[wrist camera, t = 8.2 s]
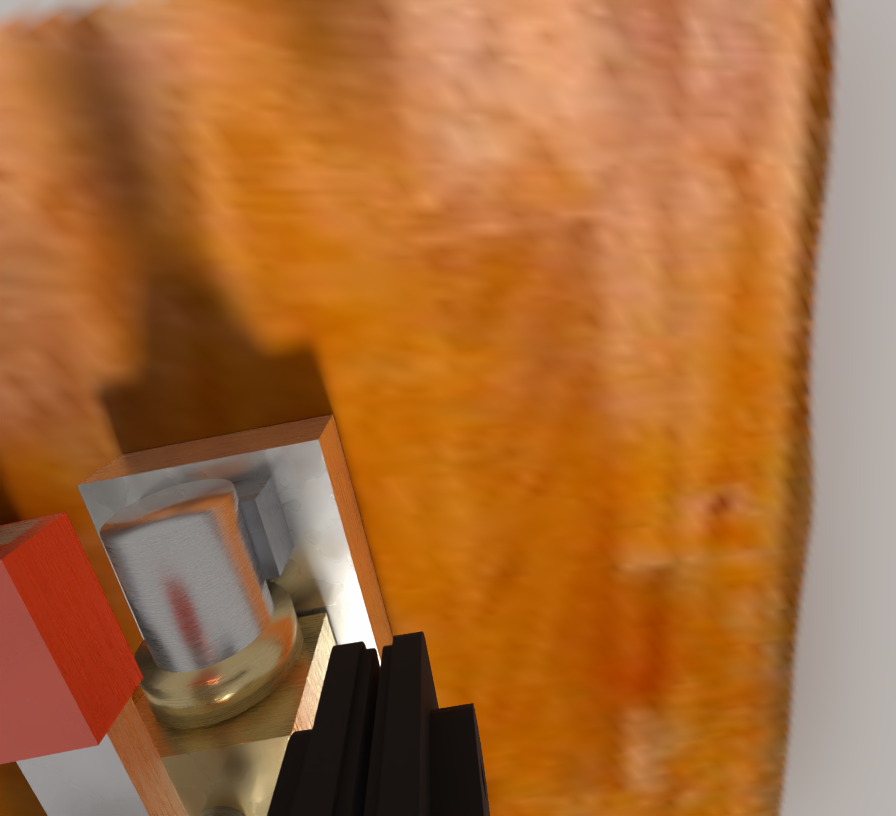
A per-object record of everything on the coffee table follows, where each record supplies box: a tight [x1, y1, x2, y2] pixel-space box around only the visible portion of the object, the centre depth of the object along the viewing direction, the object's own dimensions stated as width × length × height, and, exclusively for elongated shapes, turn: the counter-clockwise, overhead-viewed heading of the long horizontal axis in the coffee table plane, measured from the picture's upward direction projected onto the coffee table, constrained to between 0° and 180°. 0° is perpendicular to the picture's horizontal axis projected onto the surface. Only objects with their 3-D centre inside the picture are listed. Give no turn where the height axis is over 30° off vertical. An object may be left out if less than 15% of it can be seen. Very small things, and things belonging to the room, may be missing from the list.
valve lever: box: [0, 512, 189, 816], centre depth 13 cm, size 14×3×2 cm, turn 12°
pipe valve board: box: [77, 414, 393, 816], centre depth 20 cm, size 20×9×11 cm, turn 11°
